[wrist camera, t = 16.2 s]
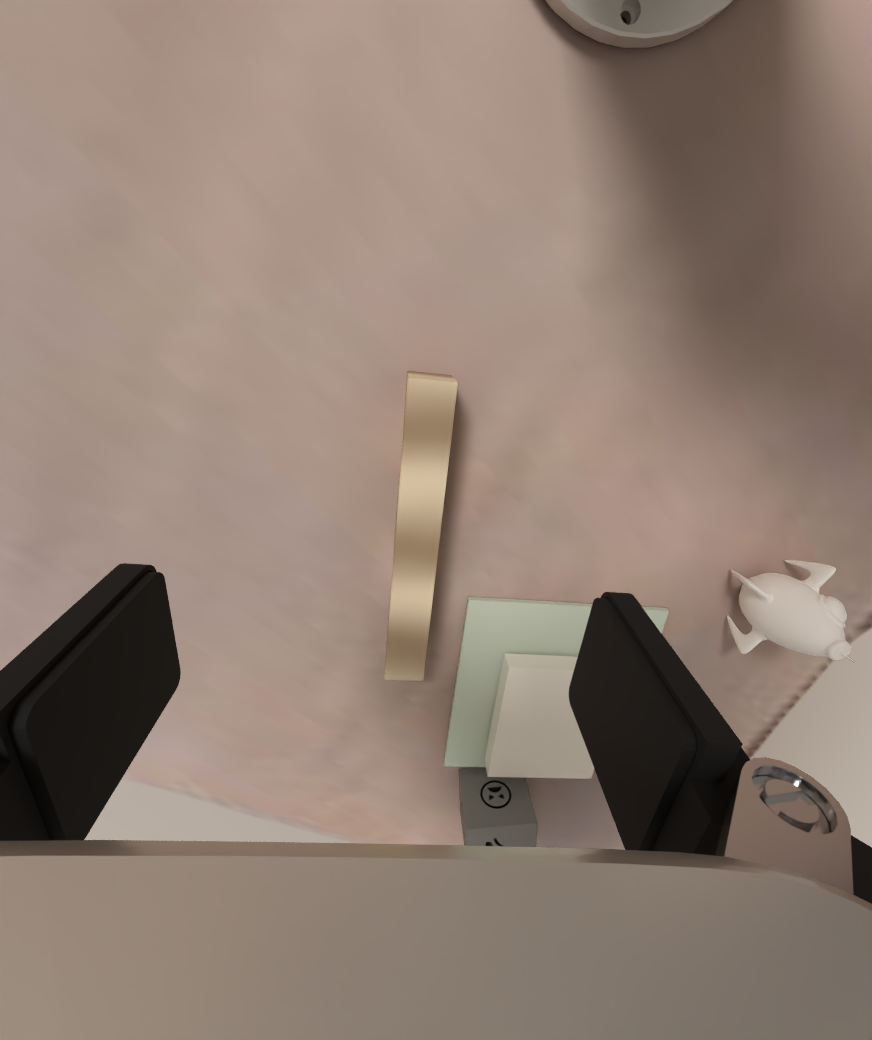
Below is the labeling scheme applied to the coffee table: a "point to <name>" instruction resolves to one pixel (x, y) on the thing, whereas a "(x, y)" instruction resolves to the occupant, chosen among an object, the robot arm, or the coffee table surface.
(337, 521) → the coffee table surface
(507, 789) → the dice cube
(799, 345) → the coffee table surface
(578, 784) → the coffee table surface
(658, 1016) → the robot arm
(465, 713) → the sage mat
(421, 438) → the tan wavy bar
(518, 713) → the cream tile
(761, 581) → the rocket toy
